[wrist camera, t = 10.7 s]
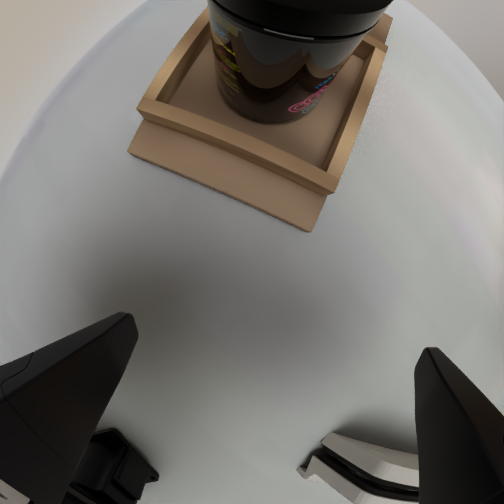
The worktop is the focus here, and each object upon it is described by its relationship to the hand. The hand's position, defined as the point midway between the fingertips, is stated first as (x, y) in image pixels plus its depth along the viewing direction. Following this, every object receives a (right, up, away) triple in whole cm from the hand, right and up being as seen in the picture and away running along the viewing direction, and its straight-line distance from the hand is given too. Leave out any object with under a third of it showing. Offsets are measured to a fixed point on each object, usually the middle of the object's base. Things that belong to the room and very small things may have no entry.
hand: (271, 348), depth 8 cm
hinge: (+12, -17, +12) cm, 24 cm away
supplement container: (+1, +13, +8) cm, 16 cm away
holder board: (+1, +15, +9) cm, 18 cm away
